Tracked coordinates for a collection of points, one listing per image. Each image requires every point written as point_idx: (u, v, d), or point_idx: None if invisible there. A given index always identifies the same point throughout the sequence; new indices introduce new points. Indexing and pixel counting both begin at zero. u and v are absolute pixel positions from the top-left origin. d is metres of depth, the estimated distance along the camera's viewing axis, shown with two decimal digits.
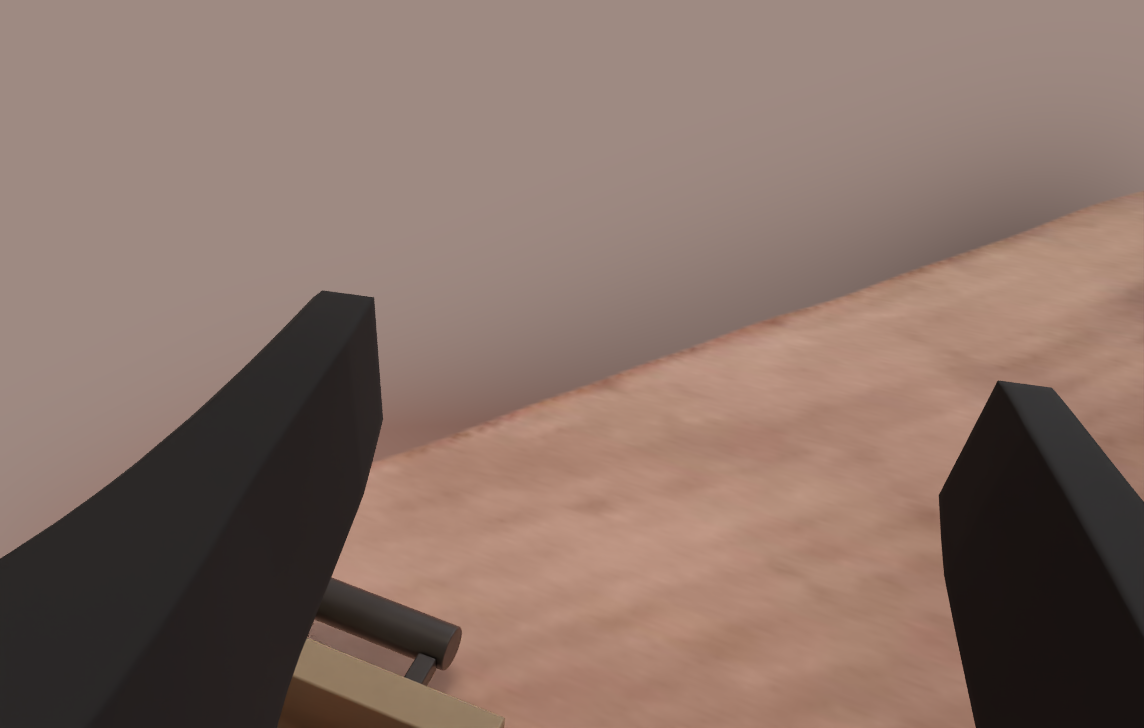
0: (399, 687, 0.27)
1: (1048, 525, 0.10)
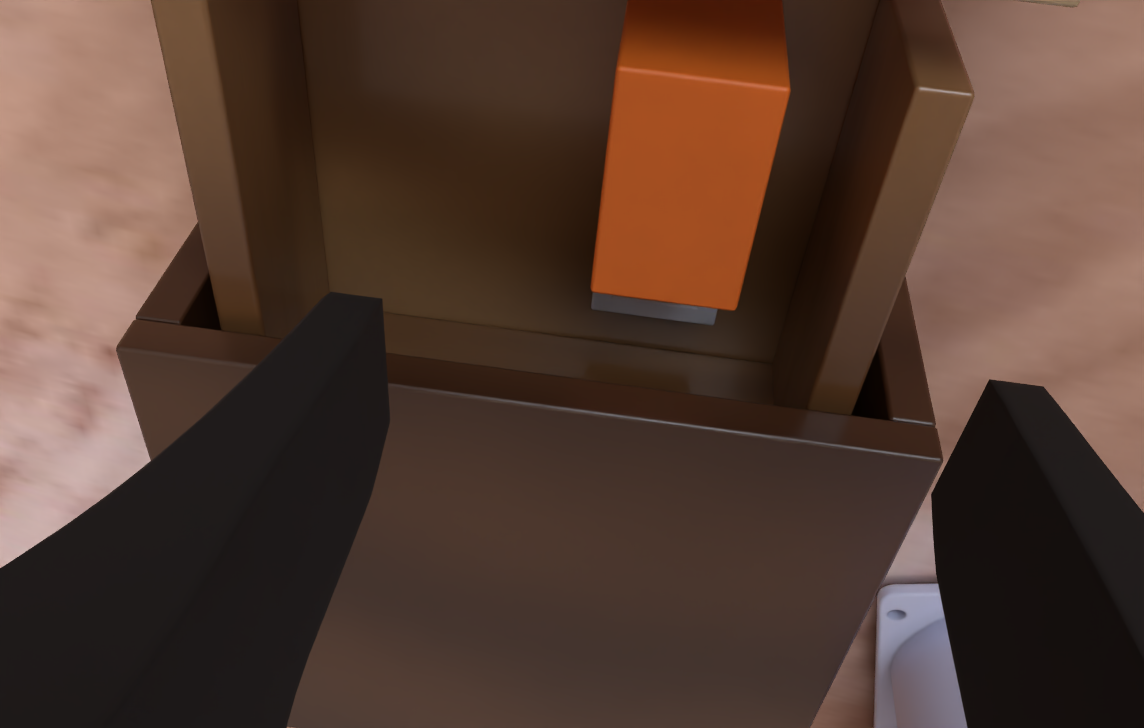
0: None
1: (1038, 524, 0.10)
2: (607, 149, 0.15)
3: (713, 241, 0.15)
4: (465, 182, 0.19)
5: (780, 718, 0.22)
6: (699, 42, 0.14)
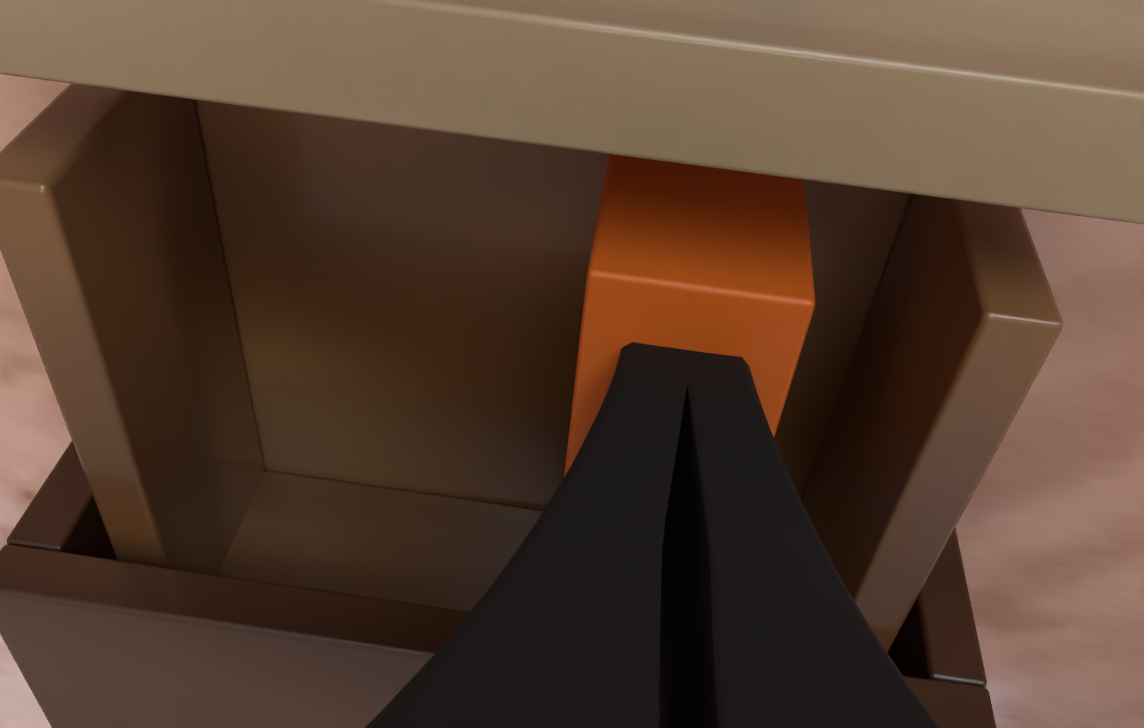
0: (911, 105, 0.08)
1: (689, 476, 0.10)
2: (578, 362, 0.11)
3: None
4: (417, 346, 0.16)
5: None
6: (697, 228, 0.11)
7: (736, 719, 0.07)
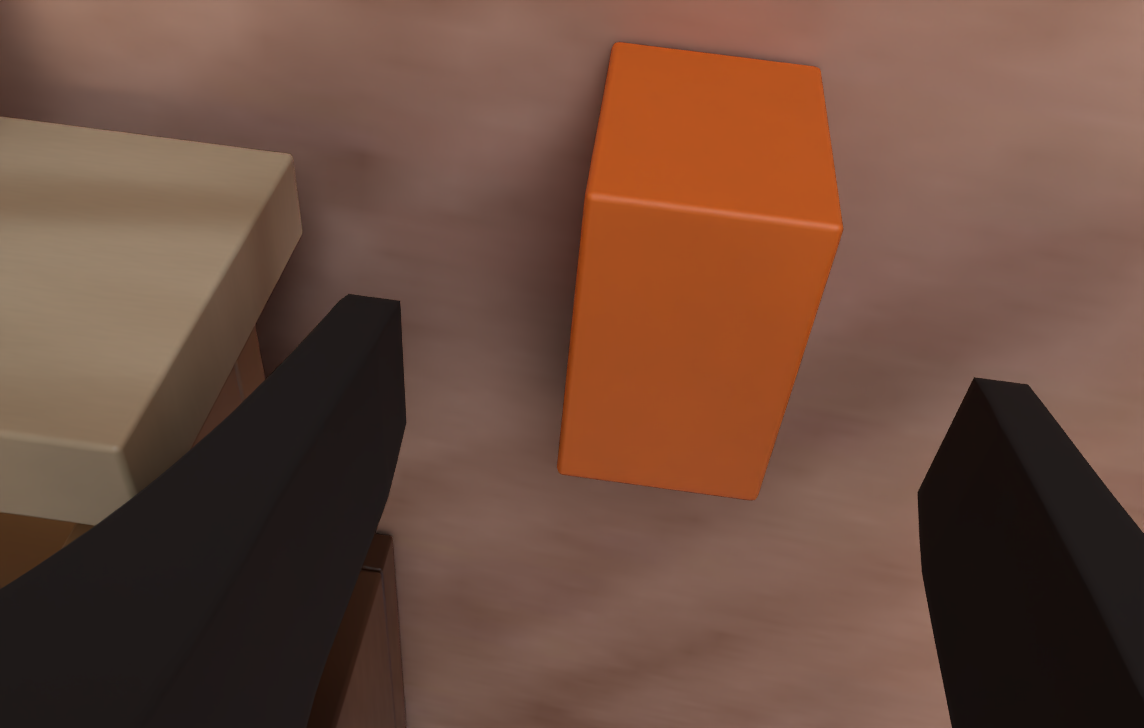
0: None
1: (1020, 521, 0.10)
2: (575, 300, 0.10)
3: (726, 418, 0.11)
4: None
5: None
6: (707, 148, 0.10)
7: None
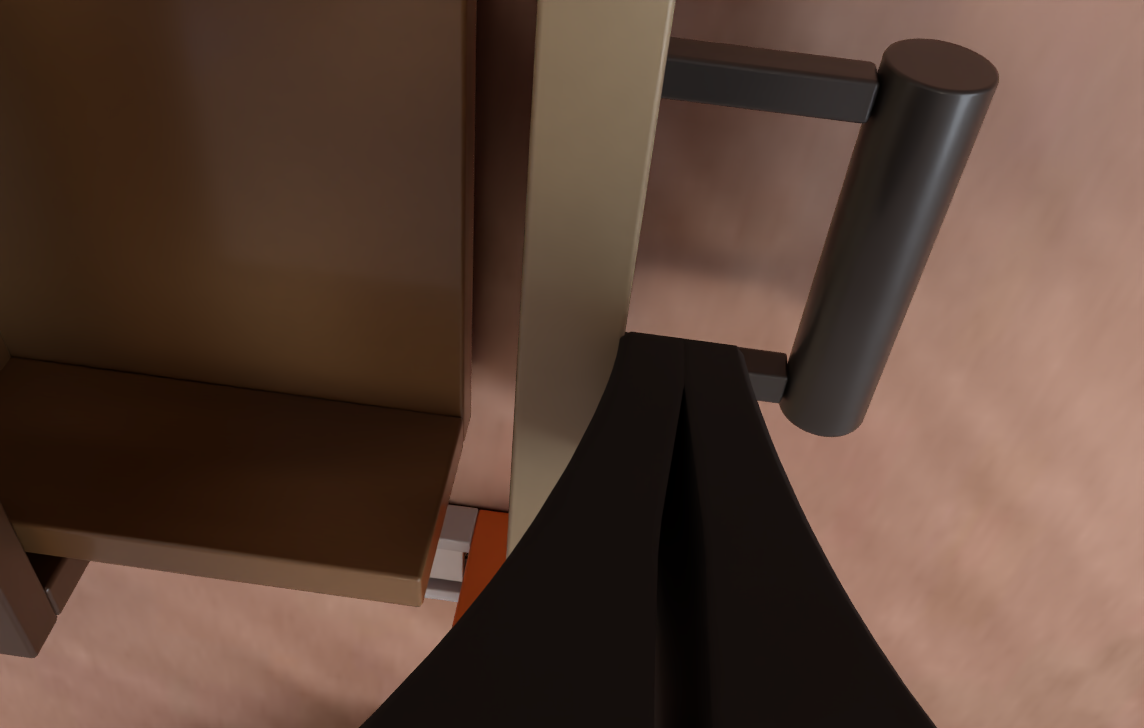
0: None
1: (686, 475, 0.10)
2: None
3: None
4: (118, 33, 0.14)
5: None
6: None
7: (731, 718, 0.07)
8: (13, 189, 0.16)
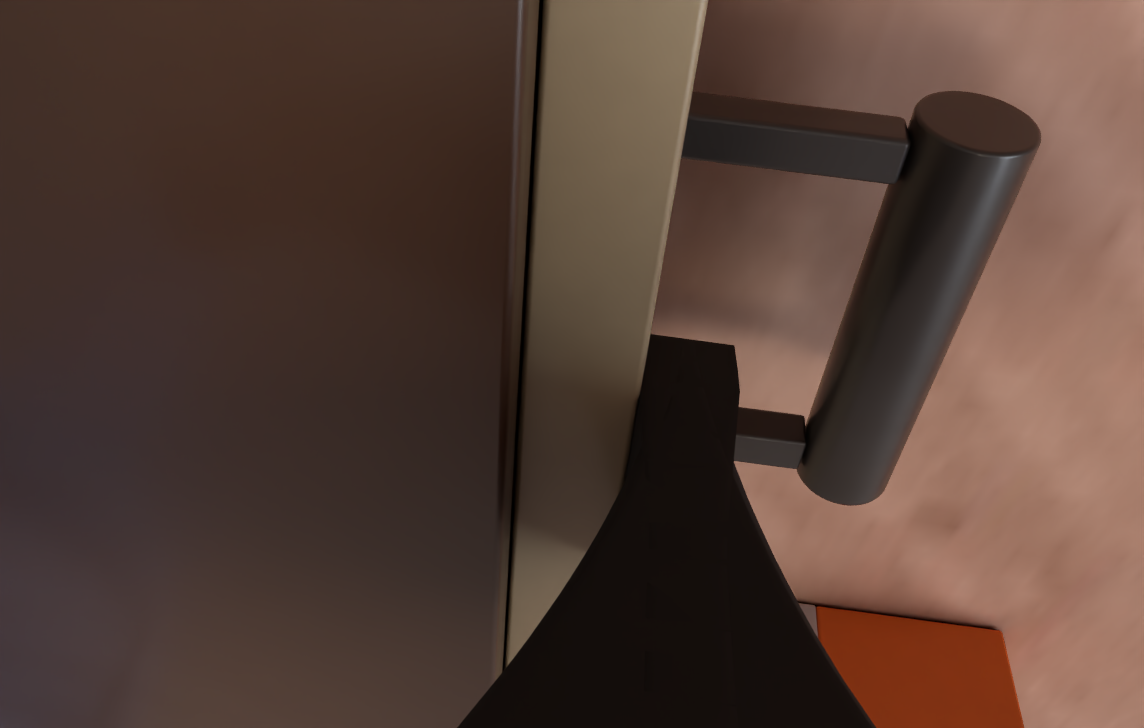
0: None
1: None
2: None
3: None
4: None
5: None
6: None
7: (661, 708, 0.07)
8: None
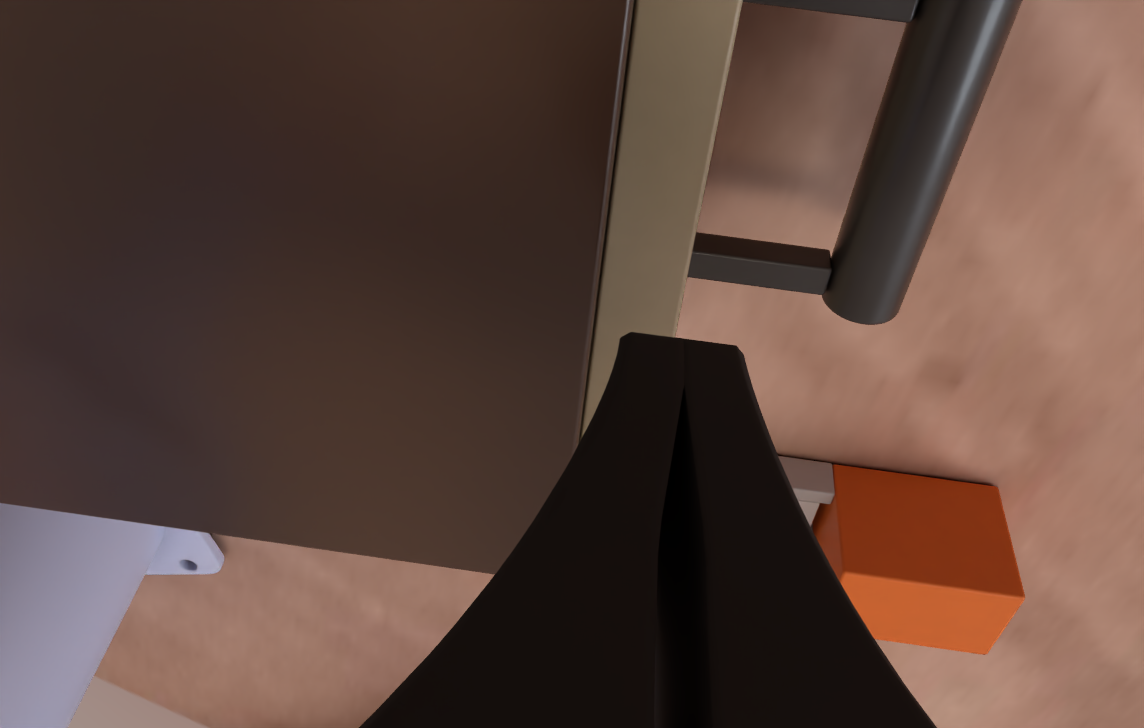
0: None
1: (686, 475, 0.10)
2: (965, 588, 0.22)
3: (881, 625, 0.23)
4: None
5: (62, 489, 0.17)
6: None
7: (732, 718, 0.07)
8: None
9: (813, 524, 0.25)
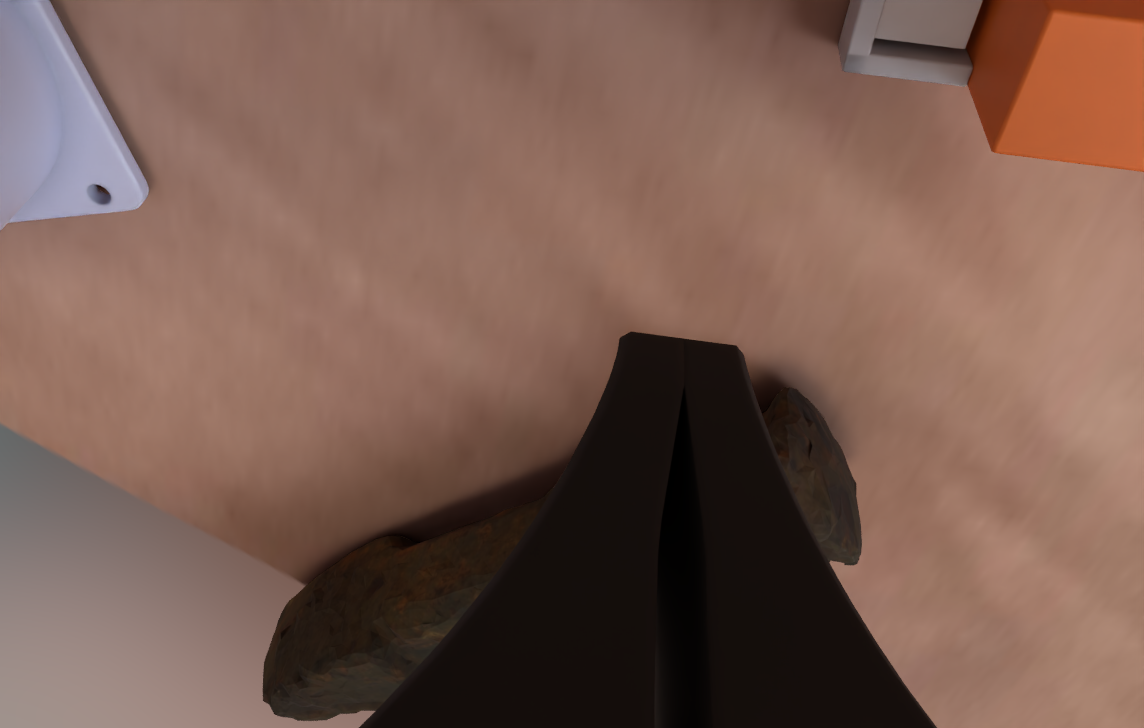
0: None
1: (686, 475, 0.10)
2: None
3: (1092, 131, 0.16)
4: None
5: None
6: None
7: (731, 718, 0.07)
8: None
9: (969, 47, 0.18)
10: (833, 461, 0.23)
